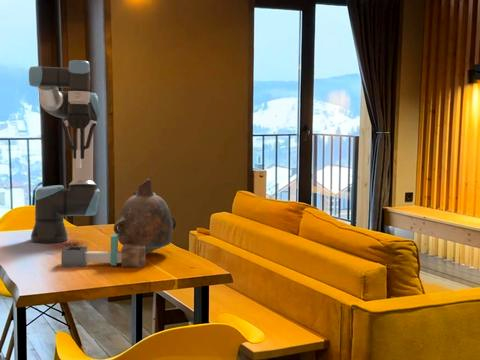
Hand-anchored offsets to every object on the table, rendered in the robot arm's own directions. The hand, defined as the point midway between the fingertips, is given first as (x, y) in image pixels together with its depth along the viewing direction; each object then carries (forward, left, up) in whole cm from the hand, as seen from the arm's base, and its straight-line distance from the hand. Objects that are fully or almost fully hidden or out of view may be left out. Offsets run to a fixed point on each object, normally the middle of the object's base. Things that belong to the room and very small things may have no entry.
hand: (78, 167), depth 235 cm
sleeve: (0, -9, -34) cm, 36 cm away
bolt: (+12, -9, -34) cm, 37 cm away
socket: (+21, -9, -34) cm, 41 cm away
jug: (+24, +10, -35) cm, 43 cm away
